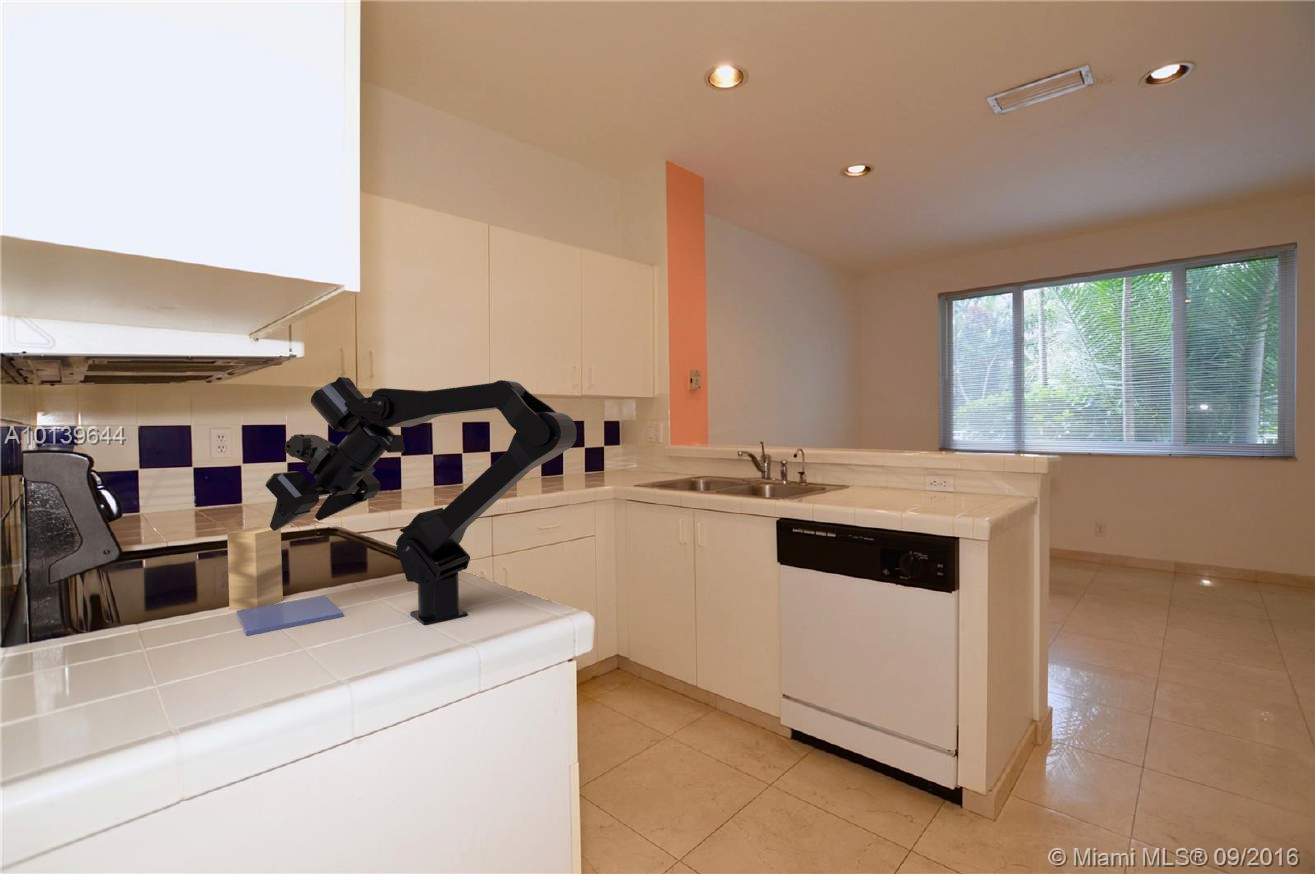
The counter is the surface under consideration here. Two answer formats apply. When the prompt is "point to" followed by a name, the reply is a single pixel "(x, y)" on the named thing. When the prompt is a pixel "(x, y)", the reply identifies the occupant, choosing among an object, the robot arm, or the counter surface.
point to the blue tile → (287, 614)
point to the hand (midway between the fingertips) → (295, 523)
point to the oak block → (254, 567)
